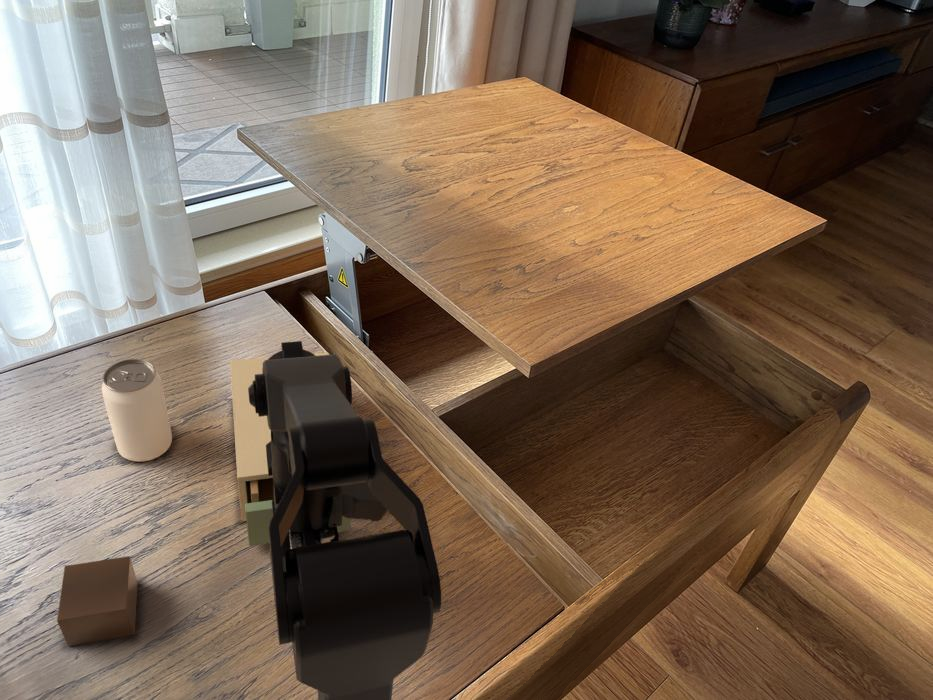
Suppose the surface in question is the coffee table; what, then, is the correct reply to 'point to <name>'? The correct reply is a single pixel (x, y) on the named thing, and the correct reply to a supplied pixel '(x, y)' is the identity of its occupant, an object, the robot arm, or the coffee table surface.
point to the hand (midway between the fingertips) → (305, 560)
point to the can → (136, 410)
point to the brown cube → (98, 601)
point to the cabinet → (249, 428)
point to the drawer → (267, 512)
